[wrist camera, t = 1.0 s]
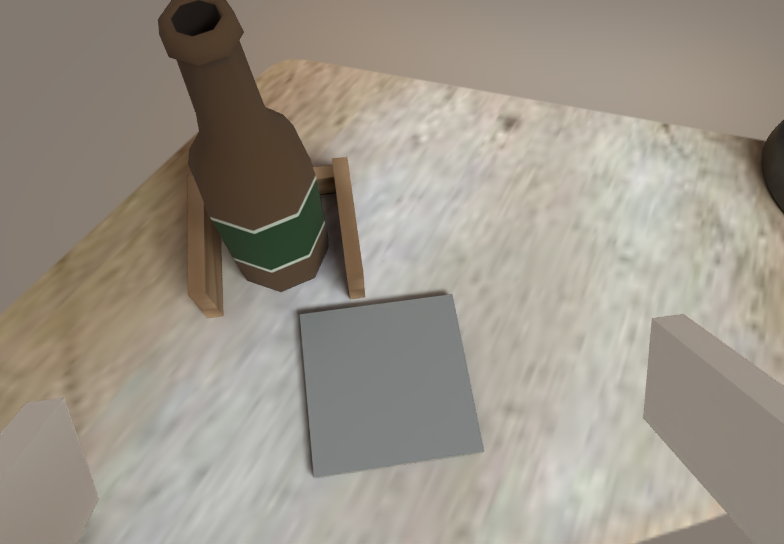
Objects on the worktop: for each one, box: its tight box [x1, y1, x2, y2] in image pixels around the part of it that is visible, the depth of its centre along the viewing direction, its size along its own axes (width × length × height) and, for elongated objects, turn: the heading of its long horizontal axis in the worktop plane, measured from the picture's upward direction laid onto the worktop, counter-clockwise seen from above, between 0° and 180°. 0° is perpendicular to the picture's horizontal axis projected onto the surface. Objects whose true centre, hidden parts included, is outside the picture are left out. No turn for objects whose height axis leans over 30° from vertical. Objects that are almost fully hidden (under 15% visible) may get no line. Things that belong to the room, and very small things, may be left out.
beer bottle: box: [158, 0, 328, 292], centre depth 36 cm, size 8×8×24 cm
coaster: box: [300, 294, 484, 478], centre depth 43 cm, size 12×12×1 cm
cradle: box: [187, 157, 365, 318], centre depth 45 cm, size 12×11×5 cm
